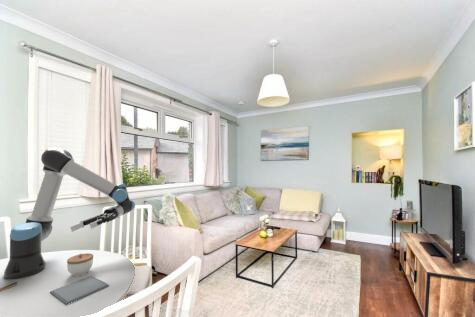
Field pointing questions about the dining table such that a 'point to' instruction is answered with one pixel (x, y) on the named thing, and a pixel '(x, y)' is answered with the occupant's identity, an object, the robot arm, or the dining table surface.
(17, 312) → the dining table surface
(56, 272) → the dining table surface
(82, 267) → the lidded jar
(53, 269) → the dining table surface
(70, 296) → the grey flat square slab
